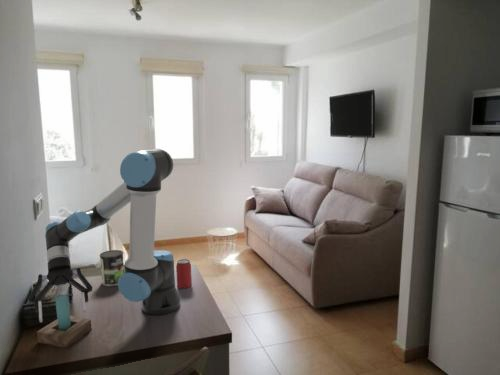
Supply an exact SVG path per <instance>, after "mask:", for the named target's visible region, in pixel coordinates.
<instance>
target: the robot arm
mask: <svg viewBox="0 0 500 375" xmlns="http://www.w3.org/2000/svg"><path fill="white" fill-rule="evenodd" d="M173 169H174V161H173V158H172V156H171V155H170V153H168V152H167V151H165V150H163V149H161V148H152V149H143V150H136V151H133V152H131V153H128V154H127V155H126V156H124V158H123V159H122V161H121V164H120V167H119V173H120V177H121V179H122V181H123V182H122V183H121V184H120V185H118V186H117V187H116V188H115V189H114V190H113V191H111V192H110V193H109V194H108V195H107V196H105V197H104V198H103V199H102V200H100V201H99V202H98V203H97V204H95V205H94V206H93V207H92V208H91V209H88V210H85V211H83V210H76V211H74V212H73V213H71V214H70V215H68V216H67V217H66V218H65V219H64V220H63V221H53V222H51V223H48V224H47V225H46V227H45V235H44V237H45V245H46V260H47V274H44V275H43V274H40V273H39V275H38V276H37V281H36V283H35V285H34V286H33V290H32V291H31V293H30V295H29V297H28V299H27V300H28V303H29V304H34V312H35V313H38V321H39V323H43V305H42V300H43V299H44V297H45V296H46V295H47V294H48V292H49V291H50V290H51V289H52V288H53V287H54V286H56V287H58V286H60V285H66V284H69V285H71V286H72V287H74V288H75V289H76V290H78V291H79V292H81V300H82V308H83V309H82V310H83V313H84V314H85V313H87V307H86V305H87V304H86V303H88V302H89V293H91V292H93V286H92V284H91V283H90V282H89V280H88V279H87V278H86V277H85V276H84V274H83V273H82V271H81V268H79V267H78V268H76V269H74V270H72V267H71V257H70V247H69V246H70V245H69V242H71V241H72V240H73V239H74V238H76V237H77V236H78V235H80V234H82V233H85V232H88V231H90V230H93V229H94V228H98V227H101V226H104V225H105V224H107V223H108V222H109V221H110V220H111V218H112V217H113V216H115V215H116V214H117V213H118V212H119V211H121V210H122V209H124V207H126V206H127V205H128V204H129V203H130V212H129V213H130V214H129V216H130V217H129V218H130V219H129V247H128V249H129V253H128V254H129V256H128V258H127V259H126V260H124V274H122V275H121V276H120V278H119V280H118V285H117V288H118V291H119V293H120V294H121V296H123V298H124V299H125V300H128V301H129V302H133V303H140V302H141V307H142V308H141V309H142V311H143V312H144V313H146V314H148V315H152V316H160V315H161V316H162V315H166V314H170V313H173V312H175V311H177V310H178V309H179V308H180V306H181V298H180V296H179V293H178V290H177V289H176V281H175V280H176V279H175V278H176V276H175V259H174V254H173V252H171V251H169V250H161V249H160V250H159V249H158V250H155V238H156V237H155V234H156V232H155V231H156V210H157V209H156V207H157V206H156V205H157V194H158V193H159V192H160V191H161V190H162V182H163V181H164V180H166V179H167V178H168V177H169V176H170V175H171V174H172V171H173ZM73 275H75V276H76V277H78V279H79V281H81V283H82V284H83V285H82V284H80V283H79V282H78V281H76V280H75V279H74V278H73V277H72V276H73ZM46 279H47V280H48V282H47V284H46V285H45V286H44V287H43V288H42V290H41V291H40V289H41V287H42V286H43V283H44V282H45V280H46Z"/></svg>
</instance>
